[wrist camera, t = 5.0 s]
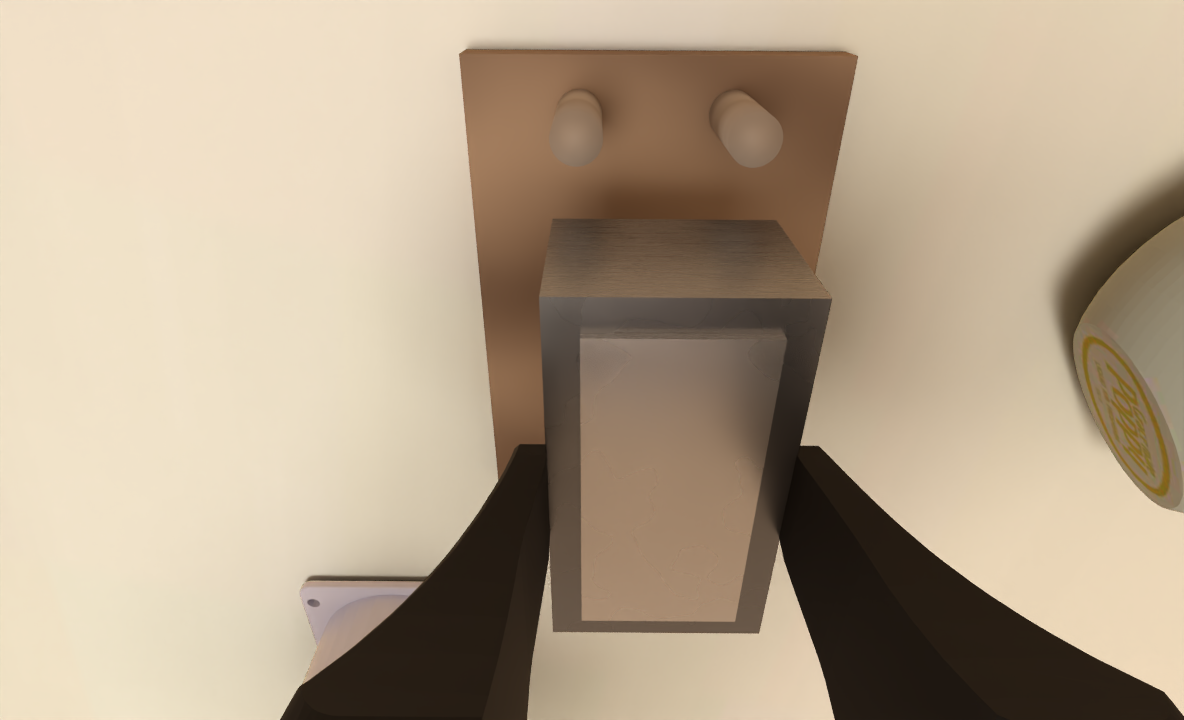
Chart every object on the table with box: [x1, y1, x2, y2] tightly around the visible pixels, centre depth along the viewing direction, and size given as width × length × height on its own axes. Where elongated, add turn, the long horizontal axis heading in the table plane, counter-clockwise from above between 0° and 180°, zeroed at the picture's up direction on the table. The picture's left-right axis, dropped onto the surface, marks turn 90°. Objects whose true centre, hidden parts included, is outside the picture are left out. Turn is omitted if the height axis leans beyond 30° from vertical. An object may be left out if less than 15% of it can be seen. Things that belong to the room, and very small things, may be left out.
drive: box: [539, 219, 832, 633], centre depth 15 cm, size 9×5×4 cm, turn 0°
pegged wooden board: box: [459, 49, 858, 480], centre depth 19 cm, size 15×10×4 cm, turn 0°
